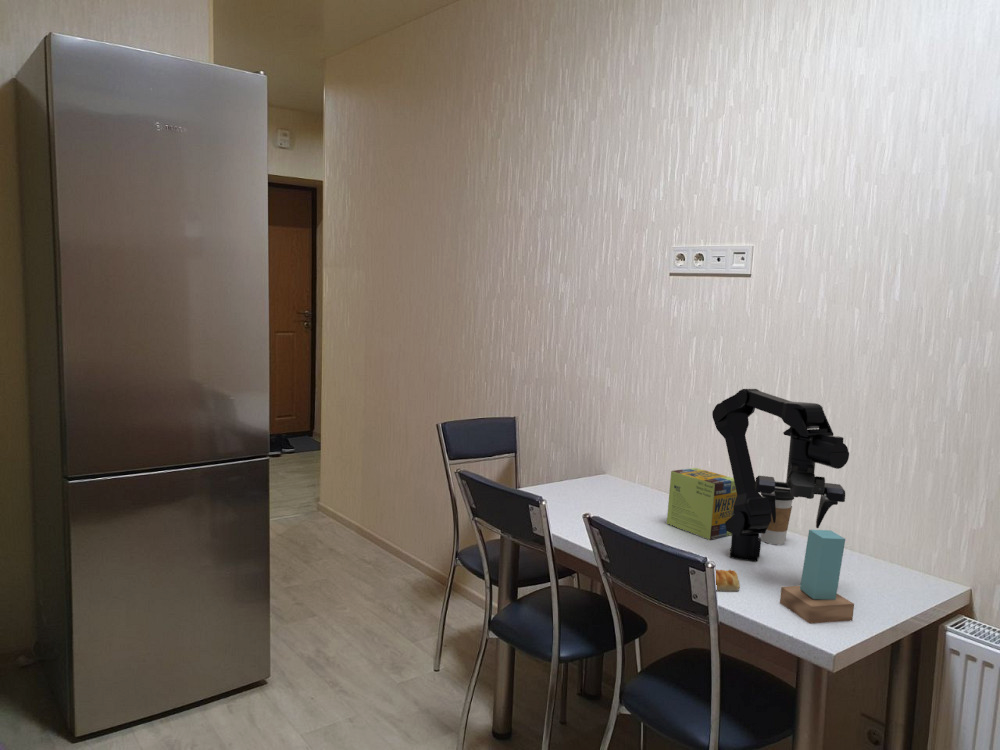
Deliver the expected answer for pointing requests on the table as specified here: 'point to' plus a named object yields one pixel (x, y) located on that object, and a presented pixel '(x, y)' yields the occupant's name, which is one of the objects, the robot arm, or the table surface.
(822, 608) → the walnut block
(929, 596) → the table surface
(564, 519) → the table surface
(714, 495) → the protein box
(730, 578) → the pastry
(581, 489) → the table surface
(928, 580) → the table surface
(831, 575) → the teal pillar
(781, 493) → the coffee cup
